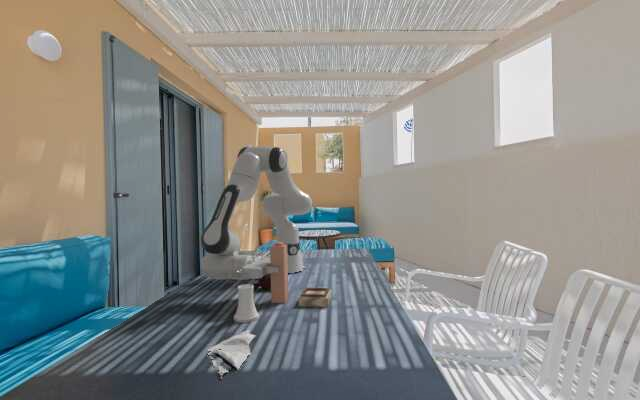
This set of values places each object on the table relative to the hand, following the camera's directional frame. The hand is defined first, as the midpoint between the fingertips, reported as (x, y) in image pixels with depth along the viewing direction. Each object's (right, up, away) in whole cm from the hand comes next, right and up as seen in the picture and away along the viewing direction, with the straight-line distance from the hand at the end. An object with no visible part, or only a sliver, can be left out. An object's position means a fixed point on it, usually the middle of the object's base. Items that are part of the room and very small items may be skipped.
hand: (281, 267), depth 123 cm
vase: (-9, -13, -16) cm, 23 cm away
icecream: (-7, -12, +17) cm, 22 cm away
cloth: (-7, -14, -39) cm, 42 cm away
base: (+12, -12, -2) cm, 17 cm away
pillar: (-1, -12, 0) cm, 12 cm away
